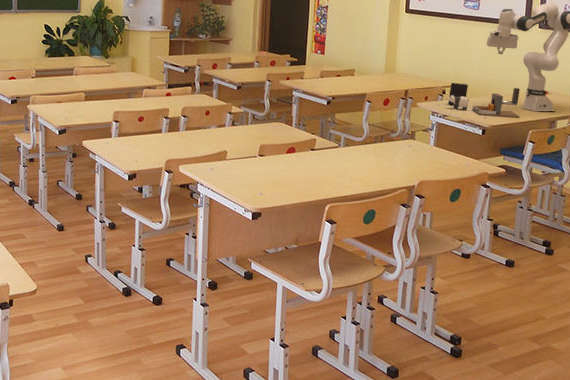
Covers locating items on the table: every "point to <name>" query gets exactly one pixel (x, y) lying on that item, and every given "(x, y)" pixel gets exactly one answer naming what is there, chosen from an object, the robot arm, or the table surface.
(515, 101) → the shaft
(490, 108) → the collar
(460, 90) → the calculator
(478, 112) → the dark grey stand
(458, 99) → the giant panda
